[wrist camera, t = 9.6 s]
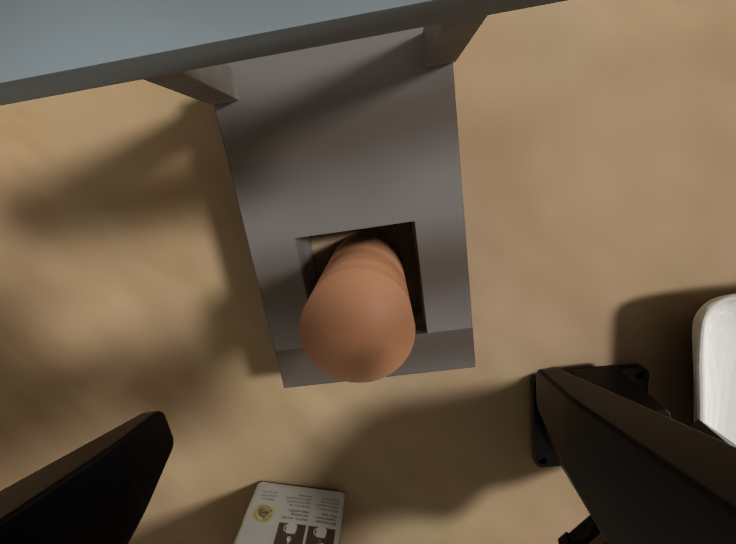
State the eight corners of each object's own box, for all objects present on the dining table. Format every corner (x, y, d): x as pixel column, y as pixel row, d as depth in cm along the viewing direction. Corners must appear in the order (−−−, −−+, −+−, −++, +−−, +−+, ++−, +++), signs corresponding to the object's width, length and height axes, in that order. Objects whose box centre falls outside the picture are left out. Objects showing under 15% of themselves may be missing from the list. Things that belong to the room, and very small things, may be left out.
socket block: (479, 337, 21) (626, 592, 8) (281, 360, 22) (145, 620, 9) (459, 38, 17) (697, -360, 4) (213, 83, 17) (-207, -129, 5)
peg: (405, 296, 20) (421, 376, 13) (337, 305, 21) (311, 388, 13) (397, 227, 19) (408, 269, 11) (324, 237, 19) (288, 284, 12)
